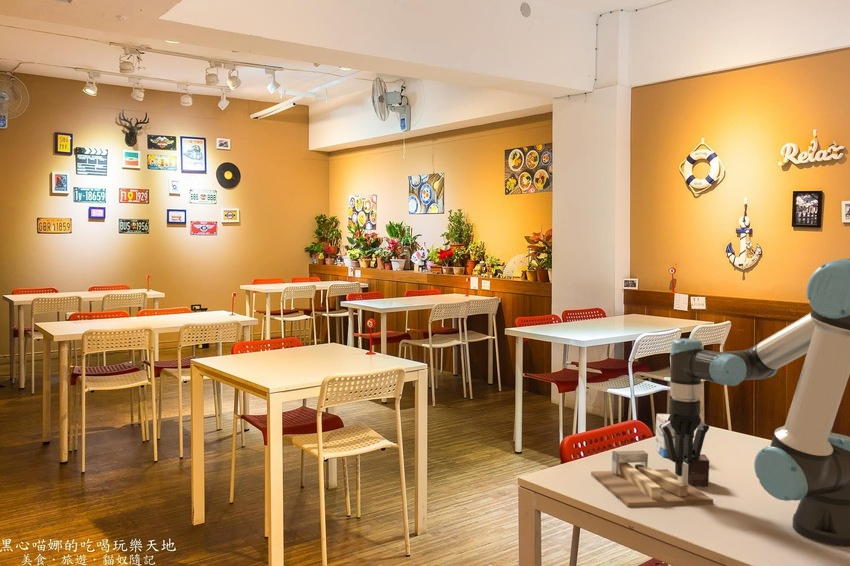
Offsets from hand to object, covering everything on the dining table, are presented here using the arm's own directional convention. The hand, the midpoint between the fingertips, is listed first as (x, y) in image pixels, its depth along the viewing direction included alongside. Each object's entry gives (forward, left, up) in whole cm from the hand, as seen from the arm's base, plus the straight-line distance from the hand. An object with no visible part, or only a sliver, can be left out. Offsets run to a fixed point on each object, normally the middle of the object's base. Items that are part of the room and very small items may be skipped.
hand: (682, 487), depth 185 cm
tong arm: (+5, +4, -1) cm, 7 cm away
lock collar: (+16, +7, -1) cm, 17 cm away
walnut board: (+6, +6, -2) cm, 9 cm away
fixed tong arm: (+7, +9, -2) cm, 12 cm away
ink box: (+36, -14, -3) cm, 39 cm away
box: (+10, -9, -3) cm, 13 cm away
